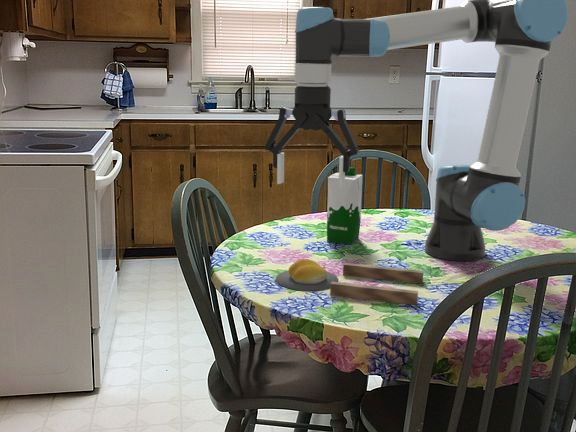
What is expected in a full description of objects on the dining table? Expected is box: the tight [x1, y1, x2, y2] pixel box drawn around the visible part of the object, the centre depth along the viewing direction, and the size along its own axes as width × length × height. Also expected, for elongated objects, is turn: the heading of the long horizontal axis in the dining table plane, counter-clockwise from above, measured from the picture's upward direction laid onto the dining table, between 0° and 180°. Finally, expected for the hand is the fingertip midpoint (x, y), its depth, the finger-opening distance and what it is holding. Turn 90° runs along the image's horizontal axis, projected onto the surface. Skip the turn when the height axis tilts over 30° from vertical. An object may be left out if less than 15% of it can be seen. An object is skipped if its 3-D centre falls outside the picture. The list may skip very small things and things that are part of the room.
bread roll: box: [287, 258, 328, 284], centre depth 142 cm, size 8×9×4 cm
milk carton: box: [326, 165, 363, 245], centre depth 173 cm, size 9×9×20 cm
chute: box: [329, 262, 425, 306], centre depth 138 cm, size 18×15×2 cm
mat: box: [275, 269, 339, 292], centre depth 143 cm, size 14×14×1 cm
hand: (310, 185), depth 138 cm, fingers open, 13 cm apart
